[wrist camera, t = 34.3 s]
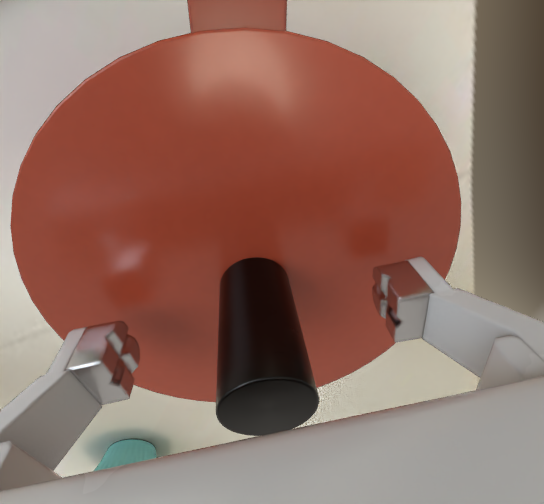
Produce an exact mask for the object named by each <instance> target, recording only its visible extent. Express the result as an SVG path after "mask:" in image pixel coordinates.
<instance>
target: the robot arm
mask: <svg viewBox="0 0 544 504" xmlns="http://www.w3.org/2000/svg"><path fill="white" fill-rule="evenodd" d="M372 277H373V279H374V280H375V282H376V283H375V284H374V286H373V287H372V296H373V301H374V305H375V307H376V310H377V312H378V313H379V315H380V316H381V317H383V318H385V319H386V328H387V330H388V331H389V333H390V335H391V337H392V338H393V340H394V342H395V343H396V342H402V341H407V340H413V339H418V338H423V340H425V341H426V342H428V343H429V344H431V345H432V346H434V347H435V348H437V349H438V350H440V351H441V352H443V353H444V354H446V355H447V356H448V357H450V358H451V359H453V360H454V361H456V362H457V363H459V364H460V365H462V366H463V367H465V368H466V369H468V370H469V371H471V372H472V373H474V374H475V375H477V376H478V377H480V381H479V383H478V386H477V389H476V390H475V391H470V392H466V393H461V394H456V395H452V396H447V397H442V398H437V399H433V400H428V401H423V402H418V403H414V404H409V405H404V406H399V407H395V408H390V409H385V410H381V411H376V412H371V413H366V414H362V415H357V416H352V417H348V418H343V419H338V420H333V421H329V422H324V423H319V424H314V425H310V426H305V427H300V428H296V429H291V430H286V431H281V432H277V433H272V434H267V435H263V436H258V437H253V438H248V439H244V440H239V441H234V442H230V443H225V444H220V445H215V446H211V447H206V448H201V449H197V450H192V451H187V452H182V453H178V454H173V455H168V456H163V457H159V458H154V459H149V460H145V461H140V462H135V463H130V464H126V465H121V466H116V467H111V468H107V469H102V470H97V471H92V472H88V473H83V474H78V475H74V476H69V477H64V478H62V477H61V476H59V475H58V474H57V473H55V472H54V469H55V468H56V467H57V465H58V464H59V463H60V461H61V460H62V459H63V457H64V456H65V455H66V454H67V452H68V451H69V450H70V448H71V447H72V446H73V444H74V443H75V442H76V440H77V439H78V438H79V436H80V435H81V434H82V433H83V431H84V430H85V429H86V427H87V426H88V425H89V423H90V422H91V421H92V419H93V418H94V417H95V415H96V414H97V413H98V412H99V410H100V409H101V408H102V406H101V405H105V404H109V403H113V402H117V401H122V400H126V399H129V398H130V394H131V391H132V387H133V384H134V380H135V378H134V377H133V375H132V373H133V372H134V370H135V369H136V368H137V367H138V365H139V361H140V347H139V344H138V342H137V340H136V339H135V337H133V336H131V335H129V334H127V332H128V329H129V328H128V326H127V325H126V324H125V322H124V321H114V322H109V323H103V324H98V325H93V326H89V327H84V328H78V329H73V330H72V331H71V332H69V333H68V335H67V337H66V339H65V341H64V342H63V344H62V346H61V348H60V350H59V351H58V353H57V355H56V357H55V359H54V361H53V362H52V364H51V366H50V368H49V370H48V371H47V373H46V375H43V376H40V377H39V378H38V379H36V380H35V381H34V382H33V383H32V384H31V385H29V386H28V387H27V388H26V389H25V390H24V391H22V392H21V393H20V394H19V395H18V396H17V397H15V398H14V399H13V400H12V401H11V402H10V403H8V404H7V405H6V406H5V407H4V408H3V409H1V410H0V504H544V322H543V321H540V320H538V319H535V318H532V317H530V316H527V315H525V314H522V313H520V312H517V311H515V310H512V309H510V308H507V307H504V306H502V305H500V304H497V303H494V302H492V301H489V300H487V299H484V298H482V297H479V296H477V295H474V294H472V293H469V292H467V291H464V290H462V289H459V288H457V289H453V288H452V287H451V286H450V285H449V284H448V283H447V282H446V281H445V280H444V279H443V277H442V276H441V275H440V274H439V273H438V272H437V271H436V270H435V269H434V268H433V267H432V266H431V265H430V264H429V262H428V261H427V260H426V259H425V258H423V257H416V258H412V259H407V260H405V261H400V262H395V263H390V264H386V265H381V266H377V267H374V268H373V275H372Z"/></svg>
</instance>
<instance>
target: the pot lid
mask: <svg viewBox="0 0 544 504" xmlns="http://www.w3.org/2000/svg"><path fill="white" fill-rule="evenodd" d="M460 223H461V197H460V190H459V182H458V176H457V173H456V169H455V166H454V163H453V160H452V156H451V153H450V150H449V148H448V146H447V144H446V142H445V140H444V138H443V136H442V134H441V132H440V130H439V128H438V126H437V125H436V123H435V122H434V121H433V119H432V118H431V117H430V115H429V114H428V113H427V111H426V110H425V109H424V107H423V106H422V105H421V103H420V102H419V101H418V99H416V98H415V97H414V96H413V95H412V94H411V93H410V92H409V91H408V90H407V89H406V88H405V87H404V86H403V85H402V84H400V83H399V82H398V81H397V80H396V79H395V78H394V77H393V76H391V75H390V74H388V73H387V72H385V71H384V70H382V69H381V68H379V67H378V66H376V65H375V64H373V63H372V62H370V61H368V60H367V59H365V58H364V57H362V56H360V55H357V54H355V53H353V52H351V51H348V50H346V49H344V48H342V47H339V46H337V45H335V44H332V43H330V42H328V41H324V40H320V39H316V38H312V37H309V36H305V35H301V34H297V33H293V32H289V31H280V30H269V29H257V28H246V27H243V28H230V29H216V30H202V31H197V32H193V33H189V34H185V35H181V36H177V37H172V38H168V39H164V40H160V41H157V42H155V43H152V44H150V45H148V46H145V47H143V48H140V49H138V50H136V51H133V52H131V53H129V54H126V55H124V56H122V57H119V58H118V59H116V60H115V61H113V62H111V63H110V64H108V65H107V66H105V67H104V68H102V69H101V70H99V71H97V72H96V73H94V74H93V75H91V76H90V77H88V78H87V79H85V80H84V81H83V82H82V83H81V84H80V85H79V86H77V87H76V88H75V89H74V90H73V91H72V92H71V93H70V94H69V95H68V96H67V97H66V98H65V99H63V100H62V101H61V102H60V103H59V104H58V105H57V106H56V107H55V109H54V110H53V111H52V113H51V114H50V116H49V117H48V118H47V120H46V121H45V122H44V124H43V125H42V126H41V128H40V129H39V130H38V132H37V133H36V134H35V136H34V138H33V140H32V142H31V145H30V147H29V149H28V151H27V153H26V155H25V157H24V159H23V161H22V163H21V166H20V169H19V173H18V177H17V181H16V185H15V188H14V192H13V197H12V212H11V233H12V242H13V251H14V255H15V259H16V262H17V265H18V269H19V272H20V275H21V279H22V281H23V283H24V285H25V287H26V289H27V291H28V293H29V295H30V297H31V299H32V301H33V303H34V304H35V306H36V307H37V309H38V310H39V311H40V313H41V314H42V316H43V317H44V319H45V320H46V322H47V323H48V324H49V325H50V326H51V327H52V328H53V329H54V331H55V332H56V333H57V334H58V335H59V336H60V337H61V338H62V339H63V340H64V341H65V339H66V337H67V335H68V333H69V332H71V331H72V330H73V329H78V328H84V327H89V326H93V325H98V324H103V323H109V322H114V321H124V322H125V324H126V325H127V326H128V328H129V329H128V332H127V334H129V335H131V336H133V337H135V339H136V340H137V342H138V344H139V347H140V361H139V365H138V367H137V368H136V369H135V370H134V372H133V373H132V375H133V377H134V378H135V380H134V385H136V386H138V387H141V388H145V389H148V390H151V391H154V392H157V393H161V394H165V395H169V396H173V397H177V398H184V399H190V400H197V401H208V402H216V415H217V418H218V420H219V422H220V423H221V424H222V425H223V426H224V427H225V428H227V429H229V430H231V431H233V432H236V433H239V434H244V435H253V436H263V435H267V434H272V433H277V432H281V431H286V430H291V429H293V428H295V427H297V426H299V425H301V424H303V423H304V422H306V421H307V420H308V419H309V418H310V417H311V416H312V415H313V414H314V413H315V411H316V409H317V407H318V404H319V396H318V392H317V388H318V387H320V386H323V385H325V384H328V383H331V382H333V381H336V380H338V379H340V378H342V377H344V376H346V375H348V374H350V373H352V372H354V371H356V370H358V369H359V368H361V367H363V366H364V365H366V364H368V363H370V362H371V361H372V360H374V359H375V358H377V357H378V356H380V355H381V354H382V353H384V352H385V351H387V350H388V349H389V348H390V347H391V346H393V345H394V344H395V342H394V340H393V338H392V337H391V335H390V333H389V331H388V330H387V328H386V319H385V318H383V317H381V316H380V315H379V313H378V312H377V310H376V307H375V305H374V301H373V296H372V287H373V286H374V284H375V283H376V282H375V280H374V279H373V277H372V275H373V268H374V267H377V266H381V265H386V264H390V263H395V262H400V261H405V260H407V259H412V258H416V257H423V258H425V259H426V260H427V261H428V262H429V264H430V265H431V266H432V267H433V268H434V269H435V270H436V271H437V272H438V273H439V274H440V275H441V276H442V277H443V279H444V280H445V278H446V276H447V274H448V272H449V269H450V266H451V263H452V260H453V257H454V254H455V251H456V248H457V242H458V237H459V231H460Z"/></svg>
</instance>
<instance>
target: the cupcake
mask: <svg viewBox="0 0 544 504" xmlns="http://www.w3.org/2000/svg"><path fill="white" fill-rule="evenodd" d="M154 458H156V449H155V447H154V446H153V445H152V444H151V443H149V442H146V441H143V440H136V439H129V440H122V441H118V442H116V443H114V444H112V445H111V446H110V447H109V448H108V450H107V452H106V453H105V455H104V457H103V458H102V460H101V462H100V463H99V465H98V466H97V467H96V469H95V470H94V471H97V470H102V469H107V468H111V467H116V466H121V465H126V464H130V463H135V462H140V461H145V460H149V459H154Z"/></svg>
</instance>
